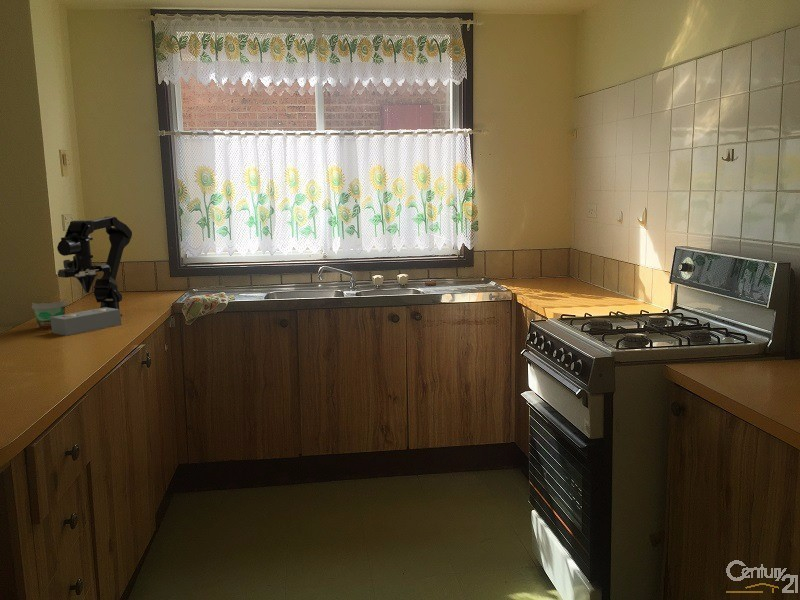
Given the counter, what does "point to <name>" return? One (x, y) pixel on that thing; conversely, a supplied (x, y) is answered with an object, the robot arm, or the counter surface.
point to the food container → (48, 313)
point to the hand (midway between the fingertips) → (87, 292)
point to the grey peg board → (85, 321)
